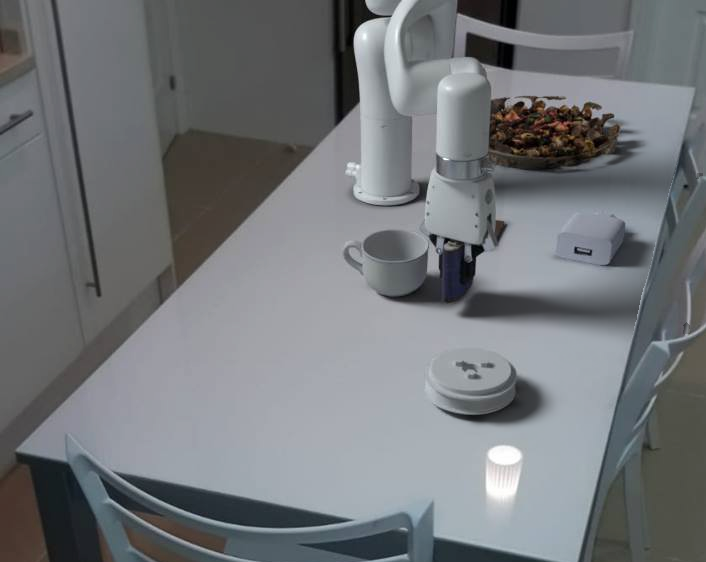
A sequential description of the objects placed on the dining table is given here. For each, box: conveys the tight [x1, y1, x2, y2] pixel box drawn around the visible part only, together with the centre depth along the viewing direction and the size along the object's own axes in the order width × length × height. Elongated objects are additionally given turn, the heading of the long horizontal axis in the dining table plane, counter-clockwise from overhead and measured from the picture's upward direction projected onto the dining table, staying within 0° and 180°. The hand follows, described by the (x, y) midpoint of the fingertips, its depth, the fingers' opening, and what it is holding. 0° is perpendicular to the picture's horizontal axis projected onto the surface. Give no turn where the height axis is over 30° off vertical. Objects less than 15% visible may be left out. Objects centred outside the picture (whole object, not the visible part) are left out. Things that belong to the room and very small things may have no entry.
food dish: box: [488, 95, 621, 170], centre depth 225 cm, size 35×33×8 cm
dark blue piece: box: [441, 239, 475, 305], centre depth 168 cm, size 9×3×11 cm, turn 152°
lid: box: [423, 347, 518, 416], centre depth 151 cm, size 13×13×5 cm
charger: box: [555, 211, 626, 266], centre depth 187 cm, size 5×9×15 cm
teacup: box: [341, 228, 430, 298], centre depth 175 cm, size 14×11×8 cm
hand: (456, 277), depth 169 cm, fingers closed on dark blue piece, 3 cm apart
